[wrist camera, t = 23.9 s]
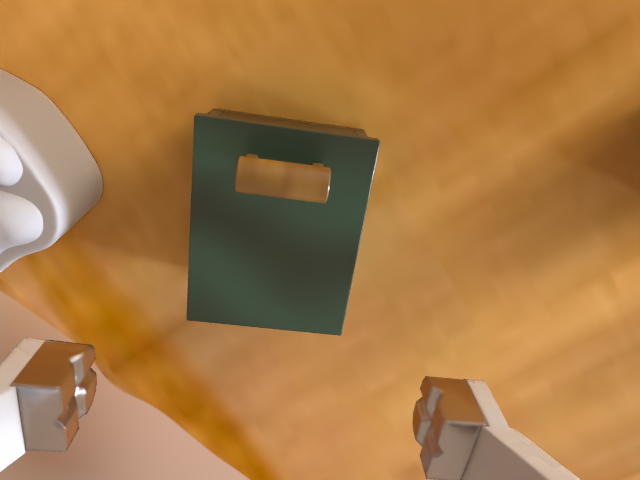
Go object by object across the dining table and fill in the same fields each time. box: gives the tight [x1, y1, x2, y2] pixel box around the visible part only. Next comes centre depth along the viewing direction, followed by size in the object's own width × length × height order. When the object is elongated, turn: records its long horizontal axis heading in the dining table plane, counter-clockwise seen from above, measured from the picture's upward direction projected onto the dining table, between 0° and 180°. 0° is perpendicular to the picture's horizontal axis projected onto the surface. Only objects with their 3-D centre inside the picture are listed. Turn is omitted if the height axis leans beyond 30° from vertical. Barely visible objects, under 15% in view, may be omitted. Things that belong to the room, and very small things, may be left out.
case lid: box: [187, 113, 380, 335], centre depth 30 cm, size 14×11×5 cm
